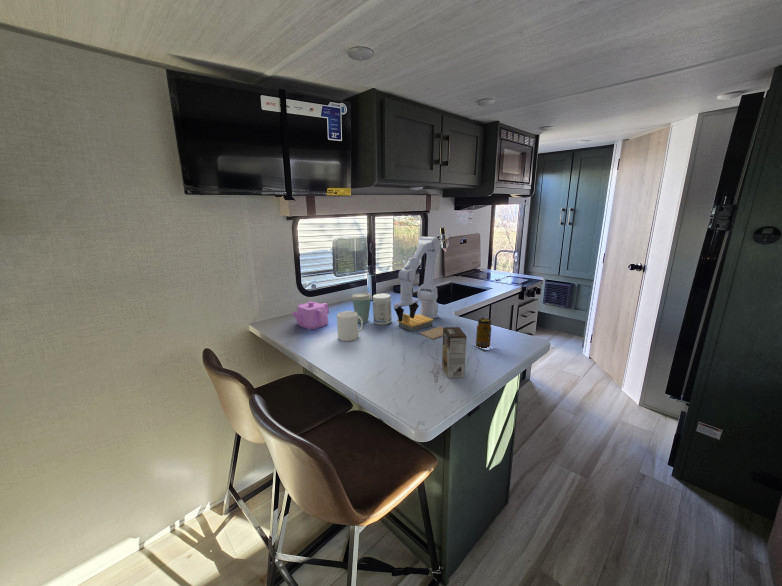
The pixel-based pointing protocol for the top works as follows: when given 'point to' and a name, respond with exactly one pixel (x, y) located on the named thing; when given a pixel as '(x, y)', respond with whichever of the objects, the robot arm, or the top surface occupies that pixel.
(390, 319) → the supplement tub
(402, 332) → the top surface
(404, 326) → the parts tub
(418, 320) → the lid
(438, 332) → the mat
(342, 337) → the mug
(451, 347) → the coffee box
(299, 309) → the teakettle
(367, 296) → the disposable coffee cup
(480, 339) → the condiment
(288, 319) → the top surface
